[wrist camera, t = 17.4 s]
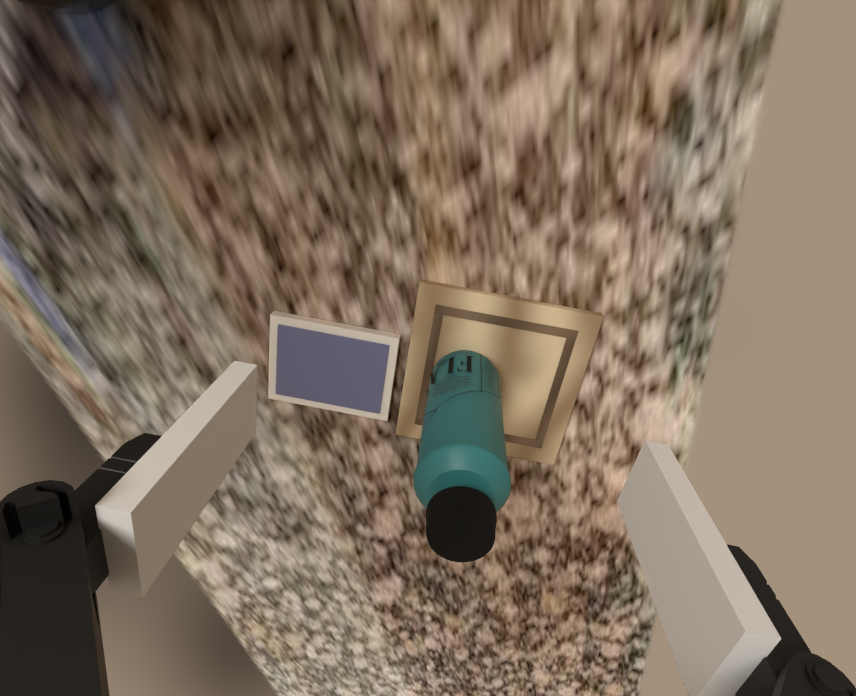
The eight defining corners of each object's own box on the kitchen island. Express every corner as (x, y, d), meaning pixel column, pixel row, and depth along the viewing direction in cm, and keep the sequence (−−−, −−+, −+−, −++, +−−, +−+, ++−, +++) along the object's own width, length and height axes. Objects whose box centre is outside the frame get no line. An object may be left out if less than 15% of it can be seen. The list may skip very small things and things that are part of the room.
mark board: (396, 429, 49) (395, 435, 48) (420, 279, 43) (419, 282, 42) (552, 460, 49) (553, 465, 48) (601, 313, 42) (604, 316, 41)
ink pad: (272, 393, 49) (267, 399, 48) (274, 310, 45) (269, 315, 44) (388, 415, 49) (386, 422, 48) (400, 334, 45) (398, 339, 44)
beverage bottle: (478, 327, 43) (482, 474, 25) (513, 385, 45) (540, 560, 27) (416, 360, 45) (377, 519, 27) (452, 414, 47) (440, 596, 29)
